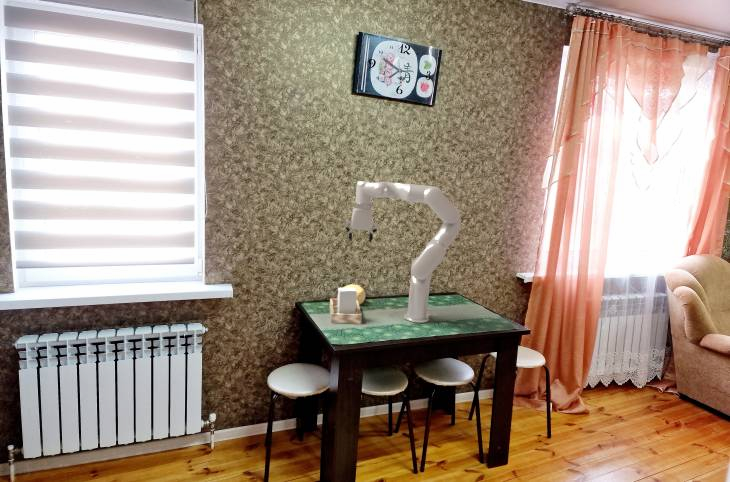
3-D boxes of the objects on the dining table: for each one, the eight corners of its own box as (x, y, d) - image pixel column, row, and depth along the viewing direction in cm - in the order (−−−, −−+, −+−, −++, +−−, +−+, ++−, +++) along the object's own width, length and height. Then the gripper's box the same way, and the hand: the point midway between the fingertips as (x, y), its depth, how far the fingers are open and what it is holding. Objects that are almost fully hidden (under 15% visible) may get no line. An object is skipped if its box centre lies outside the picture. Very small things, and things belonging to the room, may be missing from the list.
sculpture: (338, 304, 247) (340, 285, 245) (348, 299, 258) (349, 280, 256) (358, 309, 243) (360, 288, 241) (367, 303, 254) (369, 283, 252)
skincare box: (353, 316, 228) (355, 287, 225) (355, 320, 222) (357, 290, 219) (336, 316, 226) (338, 286, 224) (337, 320, 220) (339, 290, 218)
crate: (356, 308, 243) (357, 299, 242) (361, 325, 219) (361, 315, 218) (329, 307, 241) (330, 298, 240) (331, 324, 217) (331, 314, 217)
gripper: (379, 206, 234) (376, 240, 237) (344, 204, 232) (342, 238, 235) (381, 208, 226) (378, 243, 229) (345, 206, 224) (343, 241, 227)
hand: (360, 241), depth 232 cm, fingers open, 9 cm apart
